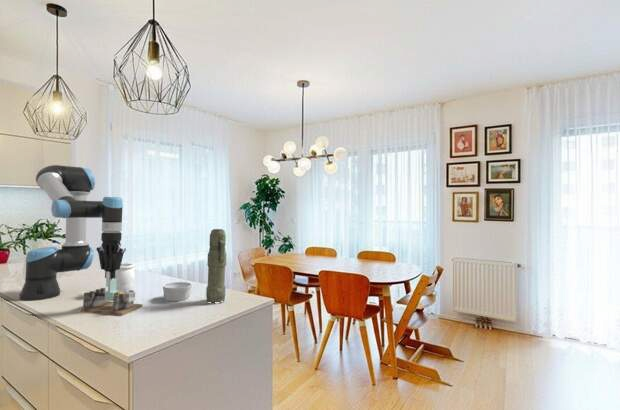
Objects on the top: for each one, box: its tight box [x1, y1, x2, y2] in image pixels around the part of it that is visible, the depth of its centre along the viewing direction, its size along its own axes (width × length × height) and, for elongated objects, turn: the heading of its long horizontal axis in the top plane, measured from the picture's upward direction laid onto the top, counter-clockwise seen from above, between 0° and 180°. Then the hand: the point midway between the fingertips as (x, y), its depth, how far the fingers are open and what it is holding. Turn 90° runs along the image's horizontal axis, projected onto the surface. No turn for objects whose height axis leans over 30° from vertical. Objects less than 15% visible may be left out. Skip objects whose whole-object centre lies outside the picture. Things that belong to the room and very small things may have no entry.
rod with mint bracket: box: [80, 287, 143, 317], centre depth 140 cm, size 20×12×8 cm, turn 80°
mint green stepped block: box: [105, 279, 119, 302], centre depth 140 cm, size 4×4×9 cm
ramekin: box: [162, 281, 193, 303], centre depth 159 cm, size 13×13×7 cm
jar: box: [114, 263, 136, 293], centre depth 163 cm, size 11×10×15 cm
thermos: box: [205, 228, 227, 303], centre depth 156 cm, size 9×12×35 cm
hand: (109, 285), depth 140 cm, fingers closed
